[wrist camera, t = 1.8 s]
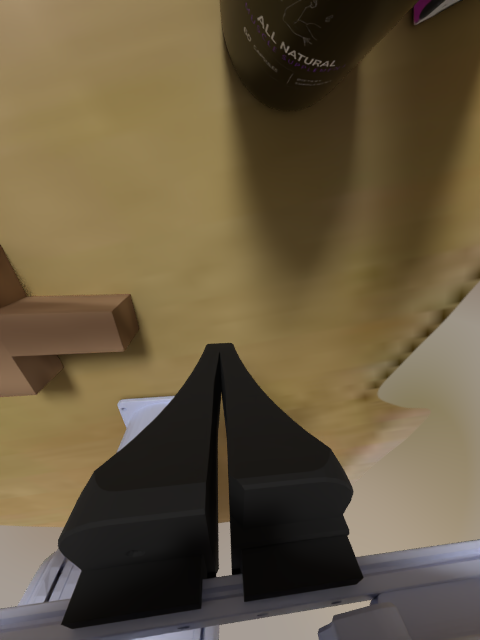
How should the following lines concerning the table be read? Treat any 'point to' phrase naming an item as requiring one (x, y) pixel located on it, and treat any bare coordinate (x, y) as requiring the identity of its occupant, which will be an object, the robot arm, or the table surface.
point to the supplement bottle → (303, 44)
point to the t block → (54, 331)
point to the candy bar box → (430, 8)
